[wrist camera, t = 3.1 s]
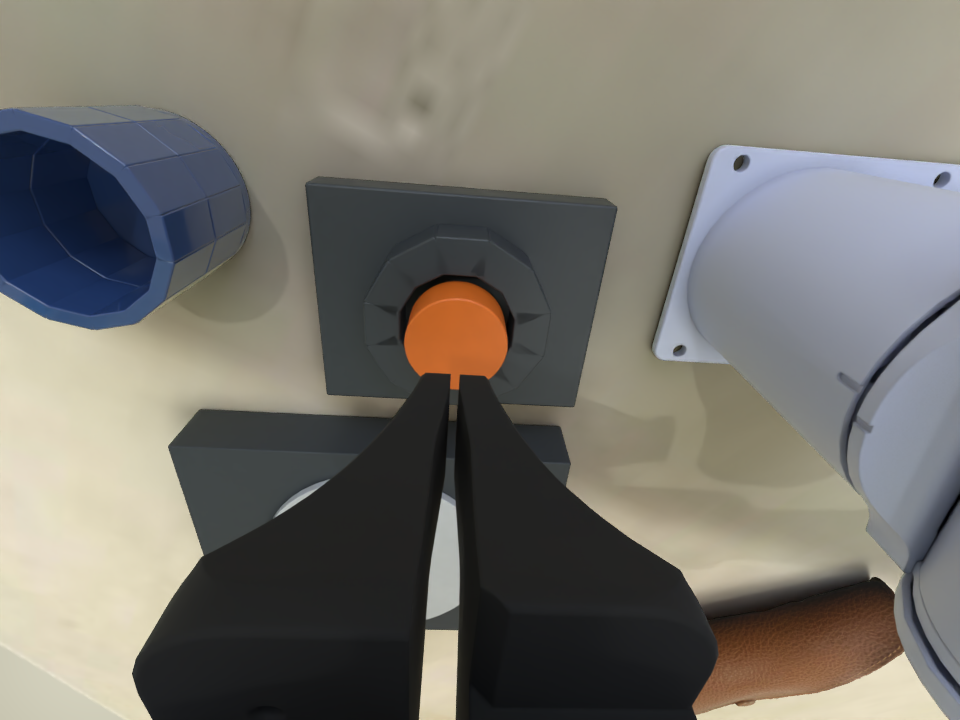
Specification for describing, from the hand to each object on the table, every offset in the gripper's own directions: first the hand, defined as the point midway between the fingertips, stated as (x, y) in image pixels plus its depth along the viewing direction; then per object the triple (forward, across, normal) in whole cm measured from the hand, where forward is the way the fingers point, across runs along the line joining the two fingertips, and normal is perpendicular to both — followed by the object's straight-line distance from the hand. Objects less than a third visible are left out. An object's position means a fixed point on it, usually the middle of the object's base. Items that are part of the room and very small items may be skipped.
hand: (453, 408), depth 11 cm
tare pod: (+7, 0, 0) cm, 7 cm away
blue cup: (+7, +10, -3) cm, 13 cm away
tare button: (+5, 0, 0) cm, 5 cm away
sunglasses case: (+8, -18, +22) cm, 29 cm away
